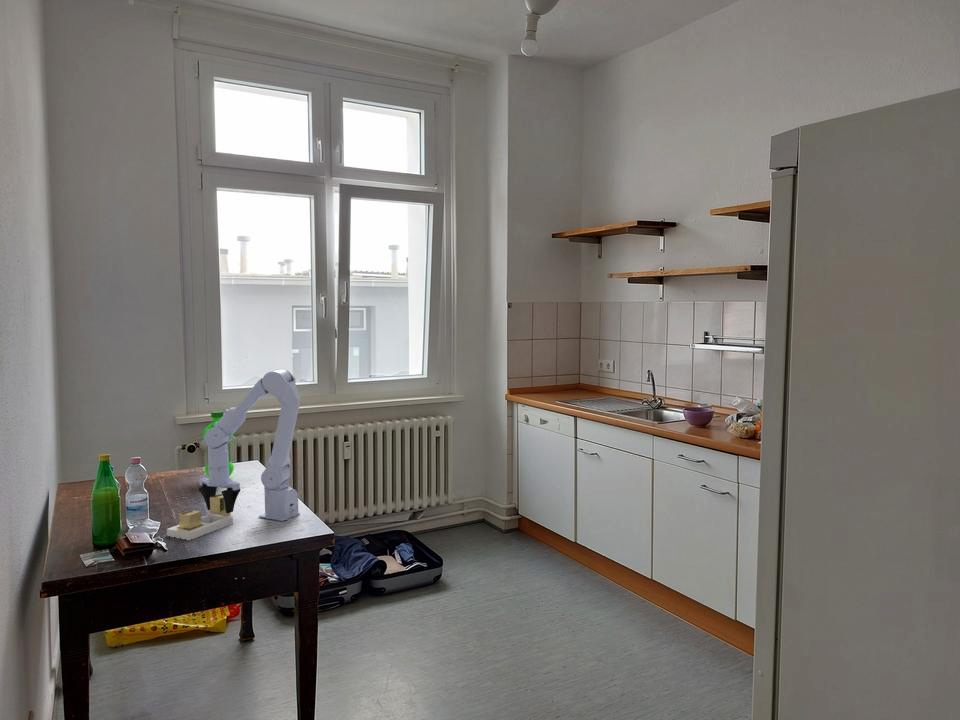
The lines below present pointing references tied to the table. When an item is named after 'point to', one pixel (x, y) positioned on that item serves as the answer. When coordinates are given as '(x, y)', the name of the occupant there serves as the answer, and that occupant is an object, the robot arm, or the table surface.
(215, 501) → the brass billet
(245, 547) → the table surface
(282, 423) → the robot arm
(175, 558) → the table surface
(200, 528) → the tray
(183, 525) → the seated billet
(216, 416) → the plastic bottle
